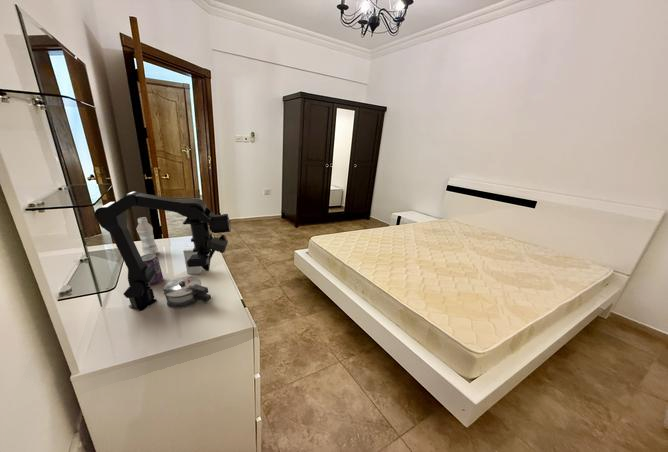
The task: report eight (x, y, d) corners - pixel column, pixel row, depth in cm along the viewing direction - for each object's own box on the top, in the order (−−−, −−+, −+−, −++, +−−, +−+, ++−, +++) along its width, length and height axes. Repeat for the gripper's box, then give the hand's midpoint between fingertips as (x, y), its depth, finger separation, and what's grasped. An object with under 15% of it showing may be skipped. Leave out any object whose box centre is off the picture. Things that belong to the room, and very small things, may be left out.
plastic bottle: (153, 257, 128) (144, 220, 121) (140, 257, 128) (130, 220, 121) (162, 251, 134) (153, 216, 127) (149, 251, 134) (140, 215, 127)
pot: (197, 316, 91) (194, 305, 89) (159, 304, 96) (156, 293, 94) (221, 296, 102) (220, 285, 100) (186, 286, 107) (184, 276, 105)
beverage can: (161, 275, 114) (155, 251, 110) (165, 282, 110) (159, 257, 105) (142, 281, 110) (135, 256, 105) (145, 288, 105) (138, 263, 100)
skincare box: (187, 274, 116) (182, 250, 111) (190, 269, 120) (186, 246, 115) (201, 273, 116) (196, 250, 112) (204, 268, 121) (200, 245, 116)
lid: (192, 304, 89) (191, 299, 88) (155, 292, 94) (154, 287, 93) (218, 285, 100) (218, 280, 99) (184, 275, 105) (183, 270, 104)
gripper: (218, 243, 85) (224, 282, 91) (229, 223, 102) (233, 257, 108) (182, 245, 83) (191, 285, 89) (199, 224, 100) (205, 259, 106)
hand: (207, 270), depth 98 cm, fingers closed
